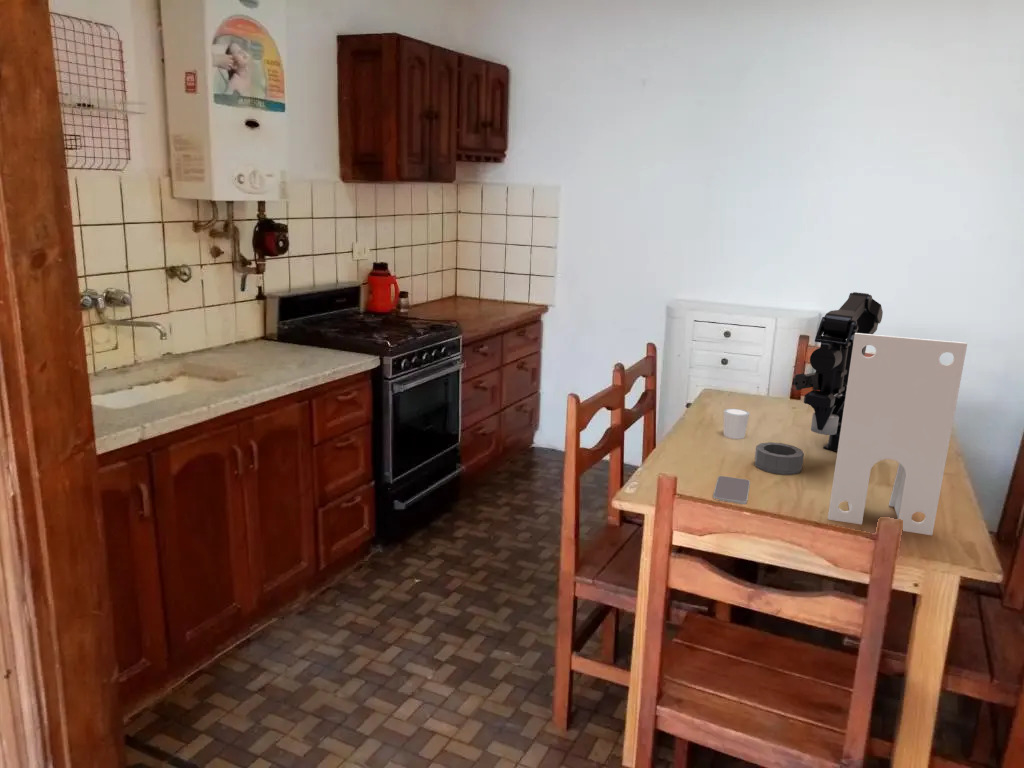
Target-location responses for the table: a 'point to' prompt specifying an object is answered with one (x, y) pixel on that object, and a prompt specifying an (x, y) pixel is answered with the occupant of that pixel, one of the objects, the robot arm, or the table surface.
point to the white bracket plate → (897, 425)
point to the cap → (829, 427)
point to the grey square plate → (732, 489)
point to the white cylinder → (735, 423)
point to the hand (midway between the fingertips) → (824, 427)
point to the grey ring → (779, 458)
